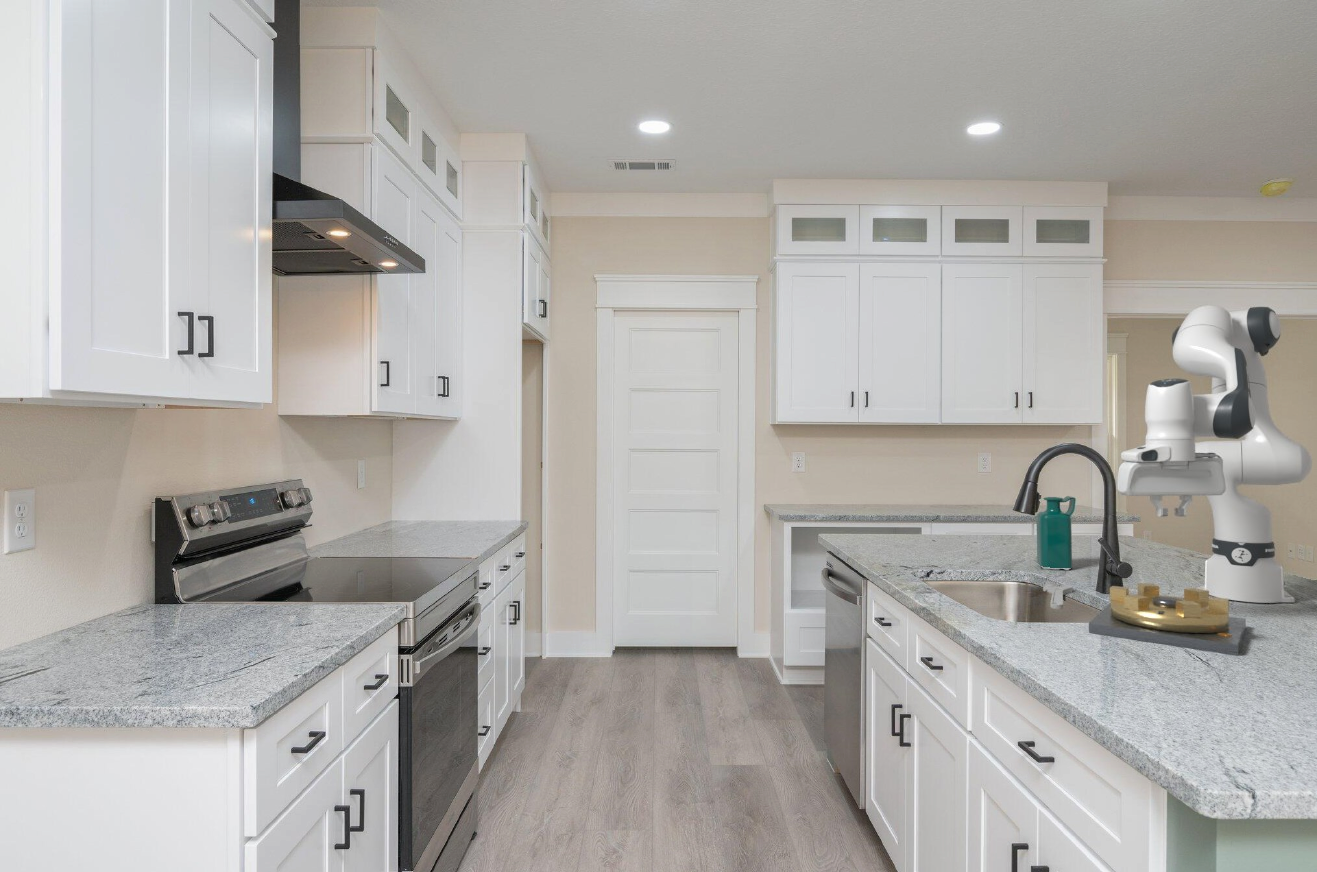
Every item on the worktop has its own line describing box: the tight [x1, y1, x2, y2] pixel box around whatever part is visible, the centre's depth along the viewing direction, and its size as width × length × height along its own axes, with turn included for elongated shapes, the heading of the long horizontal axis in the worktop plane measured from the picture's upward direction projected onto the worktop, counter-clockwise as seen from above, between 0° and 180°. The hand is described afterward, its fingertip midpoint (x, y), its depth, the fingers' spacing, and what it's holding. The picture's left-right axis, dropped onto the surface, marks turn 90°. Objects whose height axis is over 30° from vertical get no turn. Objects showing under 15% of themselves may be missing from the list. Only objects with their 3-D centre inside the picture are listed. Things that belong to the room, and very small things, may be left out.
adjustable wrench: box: [1042, 583, 1073, 610], centre depth 178 cm, size 25×6×2 cm, turn 145°
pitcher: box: [1036, 495, 1077, 569], centre depth 216 cm, size 10×8×22 cm
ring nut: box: [1109, 582, 1230, 633], centre depth 147 cm, size 20×20×6 cm
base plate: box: [1088, 602, 1247, 656], centre depth 147 cm, size 24×24×2 cm
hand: (1171, 516), depth 153 cm, fingers open, 2 cm apart
